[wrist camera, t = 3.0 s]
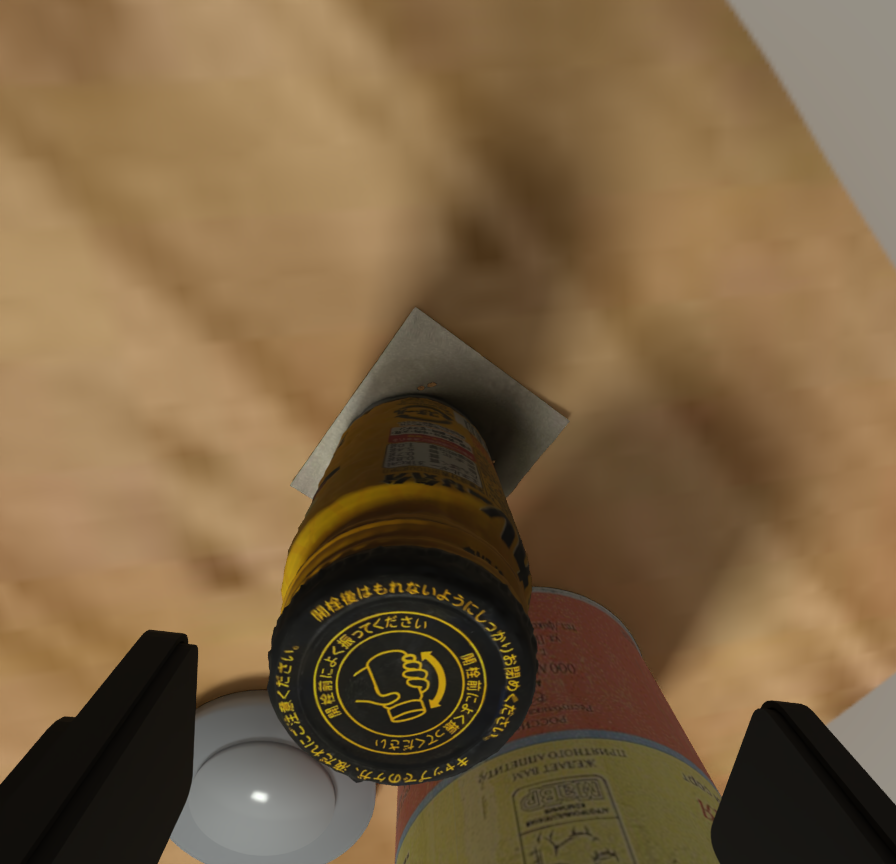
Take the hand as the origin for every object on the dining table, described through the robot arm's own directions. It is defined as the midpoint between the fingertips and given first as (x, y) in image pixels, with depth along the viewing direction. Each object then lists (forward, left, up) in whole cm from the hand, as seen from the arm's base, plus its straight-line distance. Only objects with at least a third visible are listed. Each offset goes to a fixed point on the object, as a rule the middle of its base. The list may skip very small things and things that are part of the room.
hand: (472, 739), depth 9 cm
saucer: (+17, -6, -13) cm, 22 cm away
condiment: (0, -1, -13) cm, 13 cm away
